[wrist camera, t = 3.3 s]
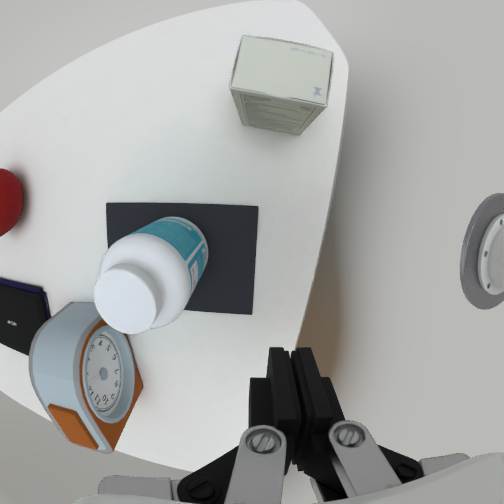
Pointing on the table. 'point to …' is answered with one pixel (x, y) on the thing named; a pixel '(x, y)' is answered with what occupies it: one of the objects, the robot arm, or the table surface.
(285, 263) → the table surface
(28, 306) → the laptop
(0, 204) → the apple
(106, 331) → the alarm clock
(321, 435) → the robot arm
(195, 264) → the pill bottle
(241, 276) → the mat
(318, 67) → the cosmetic box
